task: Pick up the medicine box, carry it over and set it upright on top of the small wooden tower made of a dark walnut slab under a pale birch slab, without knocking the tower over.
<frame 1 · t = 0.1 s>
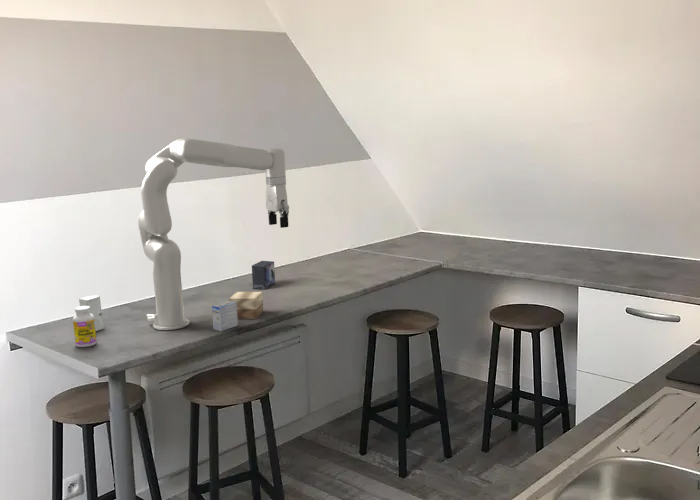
hand: (278, 225, 274), 31 cm above the worktop, tool pointing down, fingers open, 9 cm apart
small box: (264, 287, 310), on the worktop
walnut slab: (247, 315, 267), on the worktop, touching birch slab
skincare box: (93, 330, 255), on the worktop
medicine box: (225, 328, 251), on the worktop
supplement bottle: (86, 345, 238), on the worktop
birch slab: (246, 305, 266), point 4 cm above the worktop, touching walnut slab
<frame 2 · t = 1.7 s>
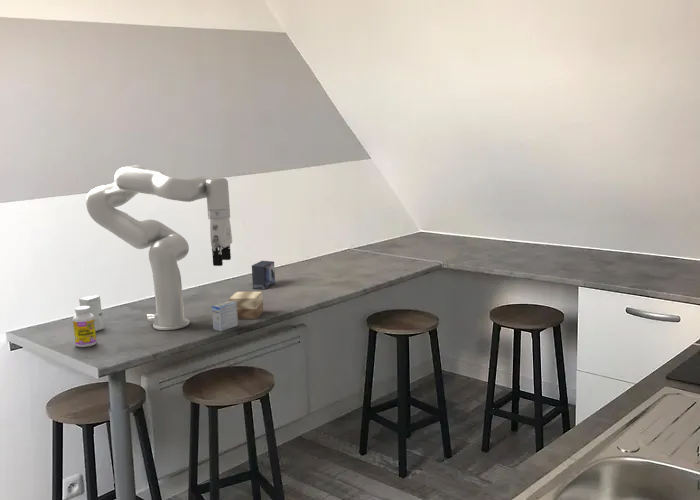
hand: (222, 262, 248), 23 cm above the worktop, tool pointing down, fingers open, 9 cm apart
nothing on the worktop moved.
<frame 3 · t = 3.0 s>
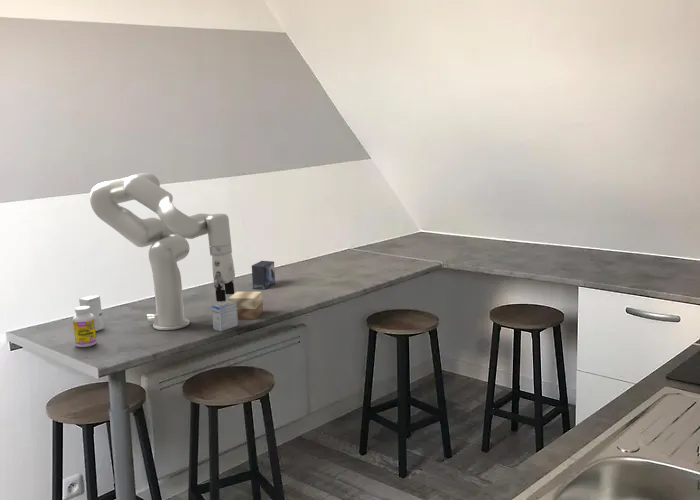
hand: (225, 297, 249), 11 cm above the worktop, tool pointing down, fingers open, 9 cm apart
nothing on the worktop moved.
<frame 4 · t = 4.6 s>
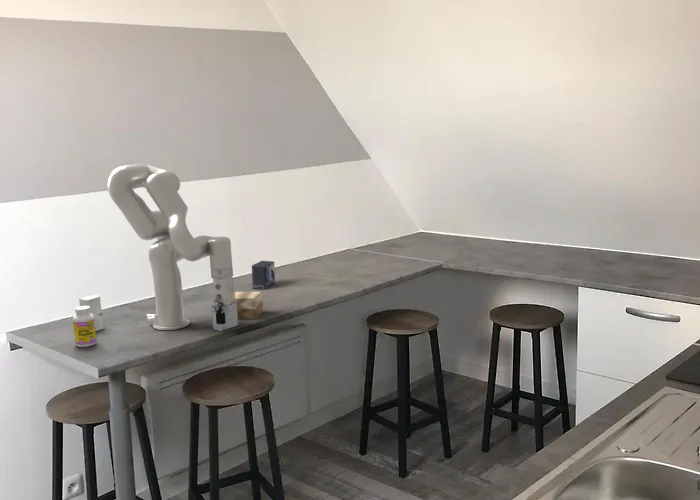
hand: (225, 319, 251), 3 cm above the worktop, tool pointing down, fingers closed on medicine box, 9 cm apart
medicine box: (226, 328, 252), on the worktop, touching gripper
everything else where it was.
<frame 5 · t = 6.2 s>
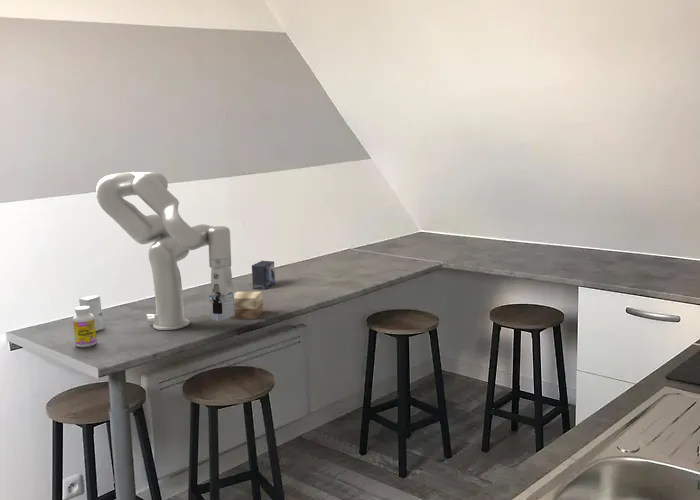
hand: (222, 309, 250), 6 cm above the worktop, tool pointing down, fingers closed on medicine box, 9 cm apart
medicine box: (222, 318, 251), point 3 cm above the worktop, touching gripper
everything else where it was.
when the fingers open (12 cm above the worktop, at t = 11.8 s): medicine box drops 1 cm, resting on birch slab.
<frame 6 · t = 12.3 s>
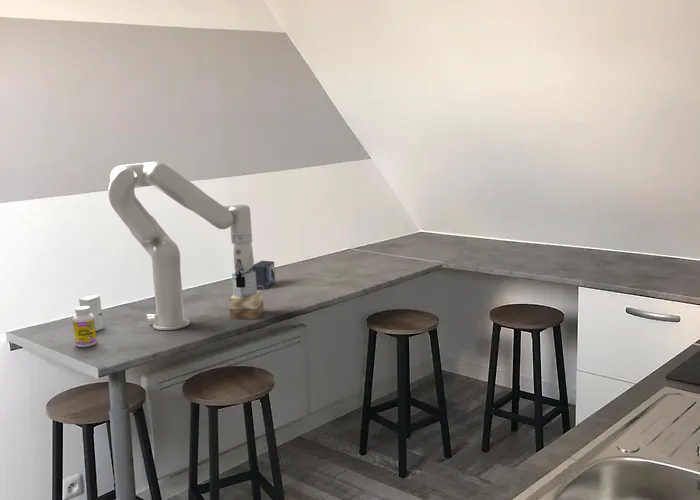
hand: (244, 284, 264), 12 cm above the worktop, tool pointing down, fingers open, 9 cm apart
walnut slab: (247, 315, 267), on the worktop
medicine box: (245, 295, 265), point 7 cm above the worktop, touching birch slab
birch slab: (246, 305, 266), point 4 cm above the worktop, touching medicine box
everything else where it was.
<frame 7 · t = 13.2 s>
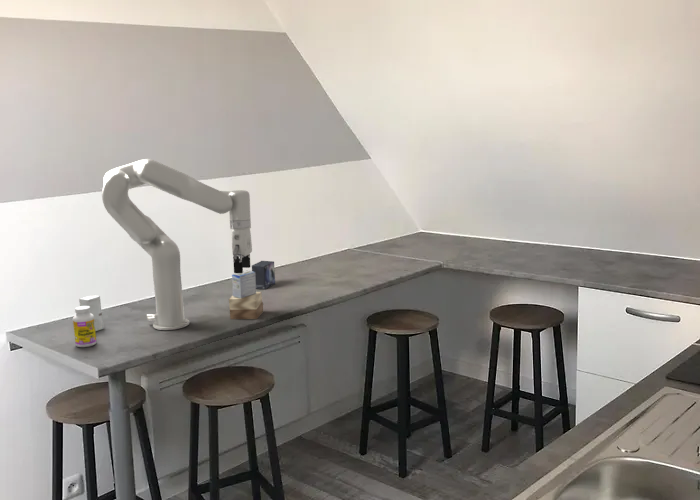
hand: (242, 270, 263), 17 cm above the worktop, tool pointing down, fingers open, 9 cm apart
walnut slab: (247, 316, 266), on the worktop, touching birch slab
medicine box: (244, 296, 265), point 7 cm above the worktop
birch slab: (246, 305, 266), point 4 cm above the worktop, touching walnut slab
everything else where it was.
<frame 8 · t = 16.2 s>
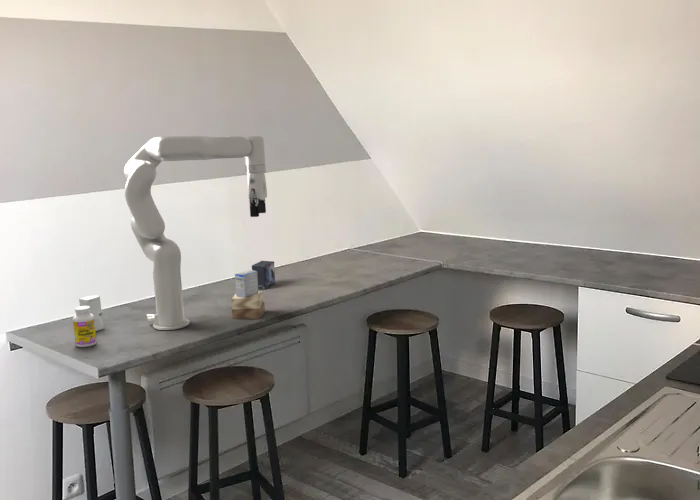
hand: (258, 214, 269), 36 cm above the worktop, tool pointing down, fingers open, 9 cm apart
medicine box: (247, 295, 265), point 7 cm above the worktop, touching birch slab
birch slab: (248, 305, 266), point 4 cm above the worktop, touching medicine box, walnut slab
everything else where it was.
at the end: medicine box inside the target area on the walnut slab (0.3 cm from its centre), point 7.8 cm above the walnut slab's base; birch slab 0.1 cm off-centre on the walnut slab, point 4.0 cm above the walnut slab's base; medicine box tilted 1° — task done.
